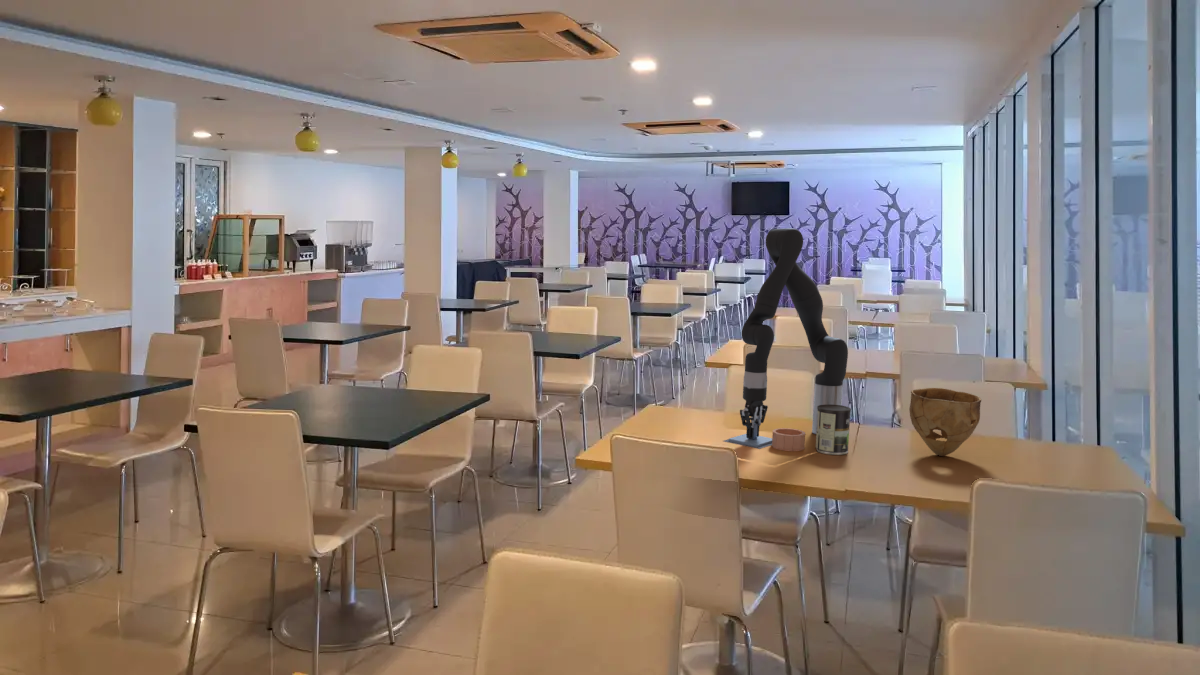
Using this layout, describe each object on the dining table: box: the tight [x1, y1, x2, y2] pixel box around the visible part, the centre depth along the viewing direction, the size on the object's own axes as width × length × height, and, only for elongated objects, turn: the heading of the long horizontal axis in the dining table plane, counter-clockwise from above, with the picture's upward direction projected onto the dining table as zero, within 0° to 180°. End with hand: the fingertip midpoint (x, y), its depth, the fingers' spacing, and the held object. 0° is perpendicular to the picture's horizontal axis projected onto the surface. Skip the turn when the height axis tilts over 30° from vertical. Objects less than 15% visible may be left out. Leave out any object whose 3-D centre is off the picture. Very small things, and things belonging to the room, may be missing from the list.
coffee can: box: [815, 404, 852, 456], centre depth 295 cm, size 10×10×14 cm
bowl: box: [908, 387, 982, 457], centre depth 292 cm, size 21×20×20 cm
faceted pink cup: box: [771, 427, 806, 452], centre depth 296 cm, size 10×10×6 cm
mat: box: [723, 438, 772, 450], centre depth 303 cm, size 14×14×1 cm
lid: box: [728, 423, 772, 447], centre depth 302 cm, size 11×11×6 cm
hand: (752, 437), depth 303 cm, fingers closed on lid, 2 cm apart
